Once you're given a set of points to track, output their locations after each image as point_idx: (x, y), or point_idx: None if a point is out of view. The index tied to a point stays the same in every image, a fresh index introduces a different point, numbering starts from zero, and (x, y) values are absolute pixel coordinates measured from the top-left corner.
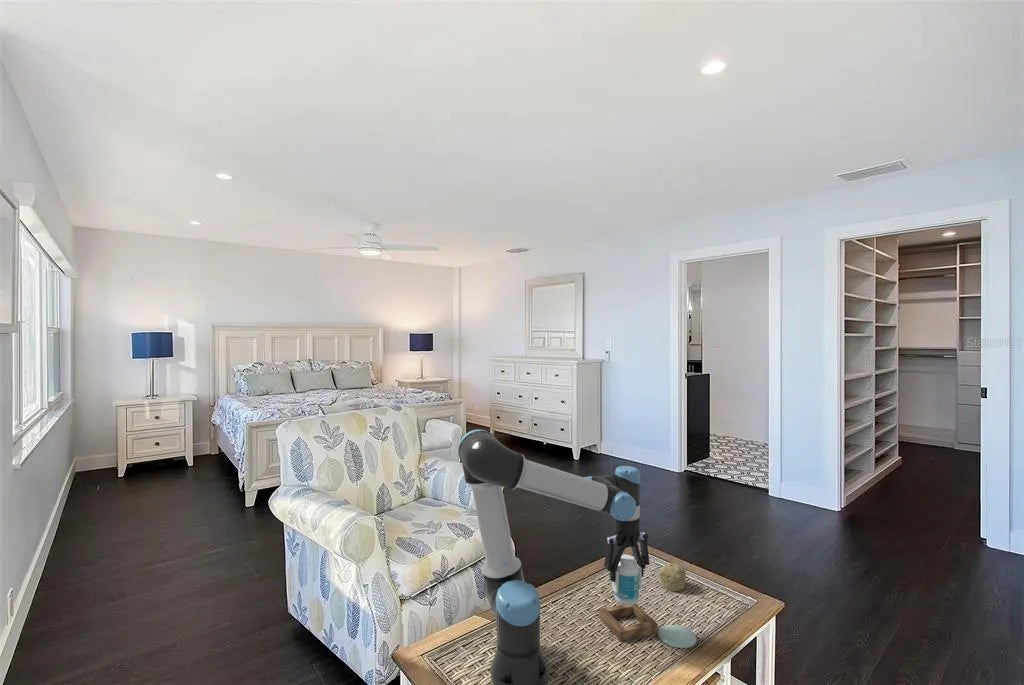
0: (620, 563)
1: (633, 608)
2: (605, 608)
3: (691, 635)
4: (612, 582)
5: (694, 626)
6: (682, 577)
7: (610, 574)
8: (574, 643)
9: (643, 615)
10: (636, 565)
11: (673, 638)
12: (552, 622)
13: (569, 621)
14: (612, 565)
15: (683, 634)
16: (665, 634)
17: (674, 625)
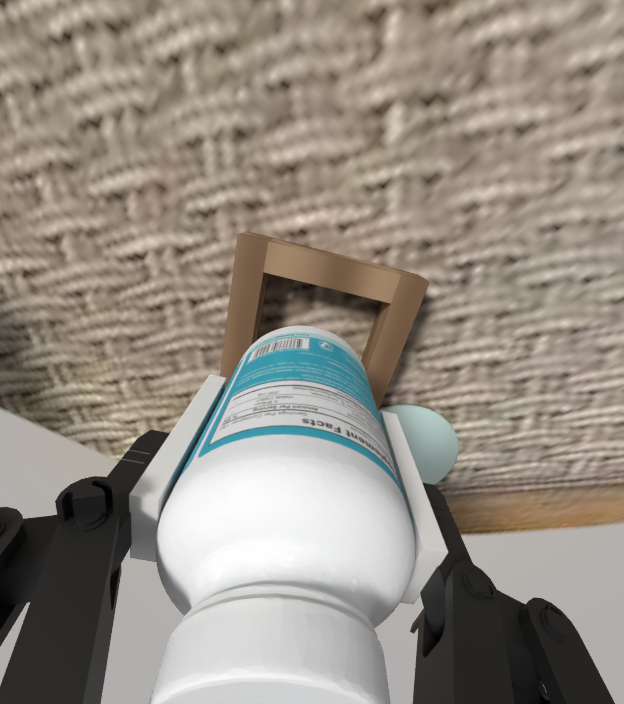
0: (193, 604)
1: (387, 308)
2: (268, 245)
3: (433, 473)
4: (191, 406)
5: (491, 447)
6: None
7: (113, 477)
8: (73, 310)
9: (371, 374)
10: (376, 626)
11: None
12: (25, 133)
13: (107, 175)
14: (86, 558)
15: (420, 459)
16: None
17: (441, 422)
